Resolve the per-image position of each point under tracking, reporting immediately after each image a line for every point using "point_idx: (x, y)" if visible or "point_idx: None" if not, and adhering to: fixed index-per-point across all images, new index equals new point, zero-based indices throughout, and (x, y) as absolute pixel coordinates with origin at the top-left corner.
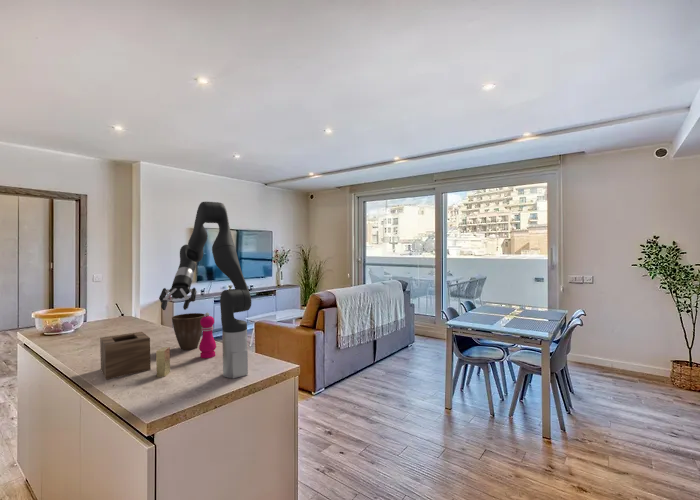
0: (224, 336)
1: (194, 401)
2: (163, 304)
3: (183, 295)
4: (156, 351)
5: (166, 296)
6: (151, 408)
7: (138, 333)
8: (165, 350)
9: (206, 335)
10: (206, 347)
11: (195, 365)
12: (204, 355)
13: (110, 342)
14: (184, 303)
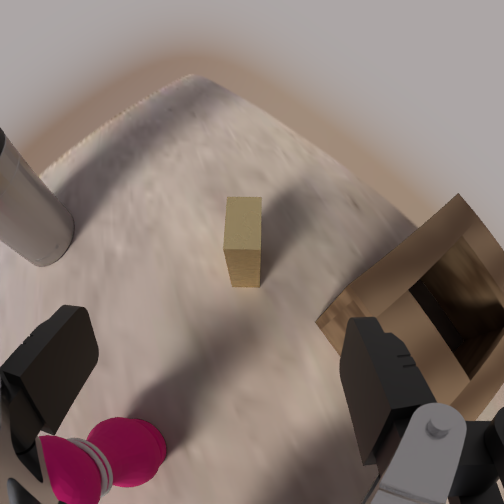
0: (12, 144)
1: (133, 114)
2: (383, 345)
3: (6, 474)
4: (260, 198)
5: (441, 490)
6: (203, 97)
7: (457, 395)
8: (226, 206)
9: (95, 440)
10: (116, 418)
11: (159, 342)
12: (140, 421)
13: (471, 230)
14: (50, 336)
